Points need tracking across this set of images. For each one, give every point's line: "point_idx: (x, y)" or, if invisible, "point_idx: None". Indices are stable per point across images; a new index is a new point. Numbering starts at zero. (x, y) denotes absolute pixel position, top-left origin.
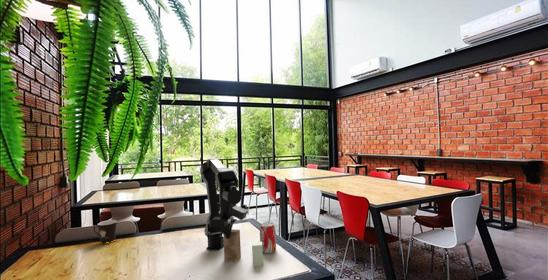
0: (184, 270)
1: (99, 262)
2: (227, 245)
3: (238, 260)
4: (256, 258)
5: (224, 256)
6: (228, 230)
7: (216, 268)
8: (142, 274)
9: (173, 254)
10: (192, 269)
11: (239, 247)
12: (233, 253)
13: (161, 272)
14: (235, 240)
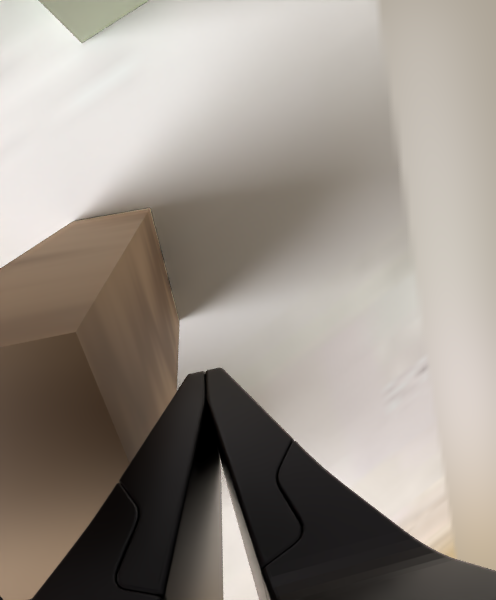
0: (379, 428)
1: None
2: (164, 359)
3: (130, 211)
4: None
5: (178, 333)
6: (310, 463)
7: (314, 286)
8: (443, 531)
9: (229, 593)
10: (360, 403)
11: (62, 243)
12: (154, 262)
13: (416, 492)
14: (124, 284)
